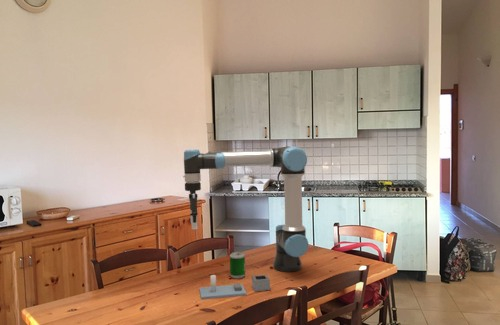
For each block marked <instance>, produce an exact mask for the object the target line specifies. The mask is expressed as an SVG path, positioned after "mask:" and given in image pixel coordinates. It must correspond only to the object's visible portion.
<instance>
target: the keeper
mask: <svg viewBox="0 0 500 325" xmlns="http://www.w3.org/2000/svg"><path fill="white" fill-rule="evenodd" d="M199 294H200V299H201V300H209V299H218V298H219V299H220V298H233V297H241V296H242V297H243V296H247V291H246V290H245V287H244V285H243V284H242V283H233V284H229V285H227V284H226V285H217V275H216V274H211V275H210V286H204V287H199Z"/></svg>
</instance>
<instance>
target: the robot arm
mask: <svg viewBox="0 0 500 325" xmlns="http://www.w3.org/2000/svg"><path fill="white" fill-rule="evenodd" d="M307 163H308V156H307V154H306V152H305V151H304V150H303V149H302V148H300V147H298V146H294V145H293V146H289V145H287V146H283V147H277V148H269V150H249V151H248V150H247V151H245V150H244V151H240V150H239V151H219V152H218V151H215V152H214V151H209V152H206V153H201V151H200V150H199V149H186V150H184V151H183V168H184V175H182V177H183V178H184V191H186V192H189V193H188V198H189V201H188V202H189V212H190V213H189V216H190V224H191V230H198V229H199V225H198V221H199V220H198V215H199V214H198V194H197V193H196V192H197V191H201V189H202V186H201V184H202V181H201V180H202V179H201V170H220V169H224V168H225V167H227V168H228V167H248V166H249V167H253V166H254V167H255V166H270V167H271V168H280V175H281V176H282V177H283V179H284V180H283V182H284V187H283V188H284V190H283V191H284V224H278V225H277V226H276V227H275V252H276V253H275V256H274V260H273V264H272V266H273V267H272V268H273V270H276V271H278V272H285V273H287V272H289V273H290V272H298V271H299V270H301V269H302V268H303V266H302V265H303V263H302V261H301V257H302V256H304V255H305V253H307V251H308V249H309V241H308V238H307V236H306V235H307V234H306V232H307V231H306V227H305V226H304V225H303V190H302V189H303V186H302V184H303V182H302V177H303V176H304V175H305V167H306V165H307Z"/></svg>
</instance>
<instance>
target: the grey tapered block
mask: <svg viewBox="0 0 500 325" xmlns="http://www.w3.org/2000/svg"><path fill="white" fill-rule="evenodd" d="M251 286H252V289H253V290H254V292H266V291H271V279H270V277H269V276H268V275H267V274H260V275H259V274H257V275H251Z"/></svg>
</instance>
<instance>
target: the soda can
mask: <svg viewBox="0 0 500 325" xmlns="http://www.w3.org/2000/svg"><path fill="white" fill-rule="evenodd" d="M245 256H246V255H245V254H244V252H242V251H233V252H231V253H230V255H229V270H230V271H229V273H230V274H229V275H230V277H231V278H232V279H237V280H238V279H242V278H244V277H245V276H246V257H245Z"/></svg>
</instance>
